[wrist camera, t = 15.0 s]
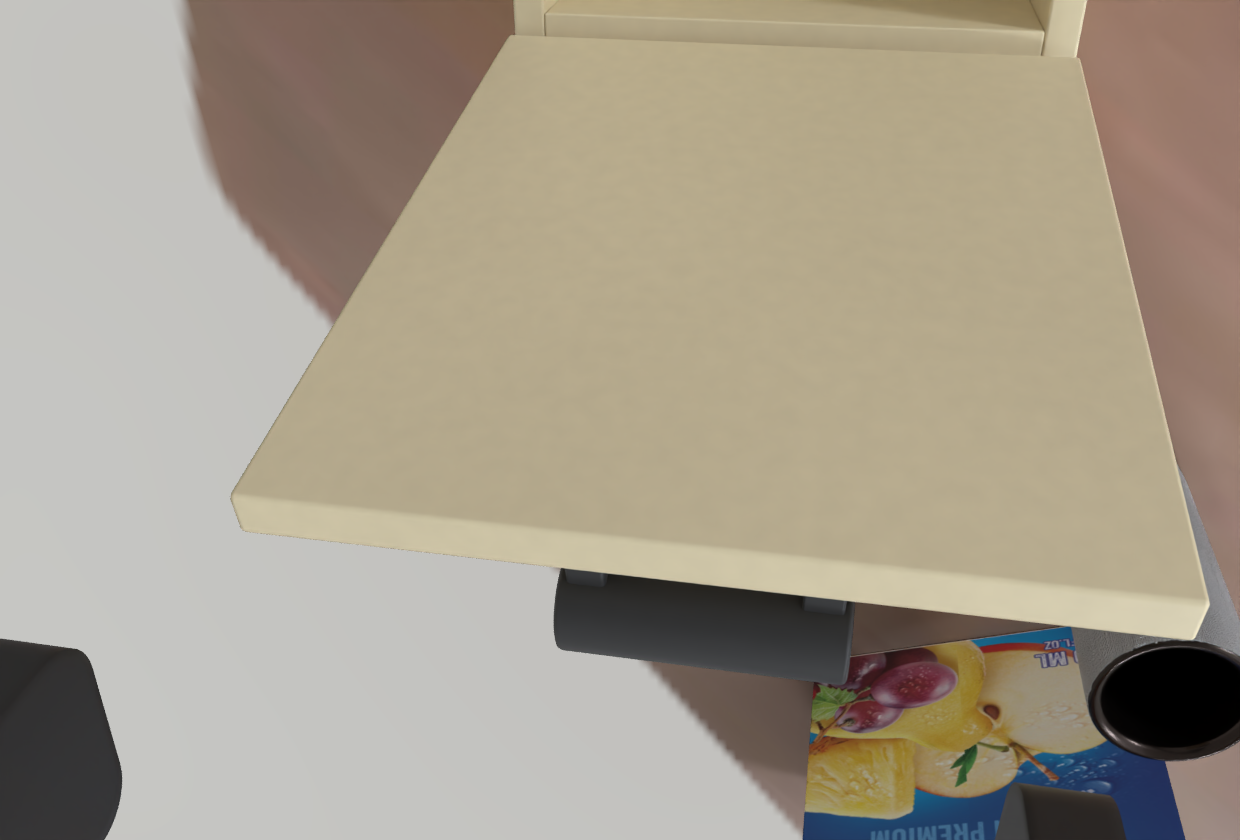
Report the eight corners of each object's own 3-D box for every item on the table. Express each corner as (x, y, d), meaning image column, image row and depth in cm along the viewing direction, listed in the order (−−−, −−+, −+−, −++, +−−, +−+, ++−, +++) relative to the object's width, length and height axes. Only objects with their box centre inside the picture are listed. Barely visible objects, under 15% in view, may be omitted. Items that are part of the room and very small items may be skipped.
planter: (1128, 565, 43) (1190, 786, 34) (1019, 509, 42) (1053, 718, 34) (1215, 476, 40) (1305, 690, 31) (1100, 415, 40) (1159, 615, 31)
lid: (226, 496, 17) (300, 699, 21) (1213, 604, 15) (1120, 813, 18) (508, 33, 29) (526, 208, 33) (1081, 56, 27) (1039, 241, 30)
